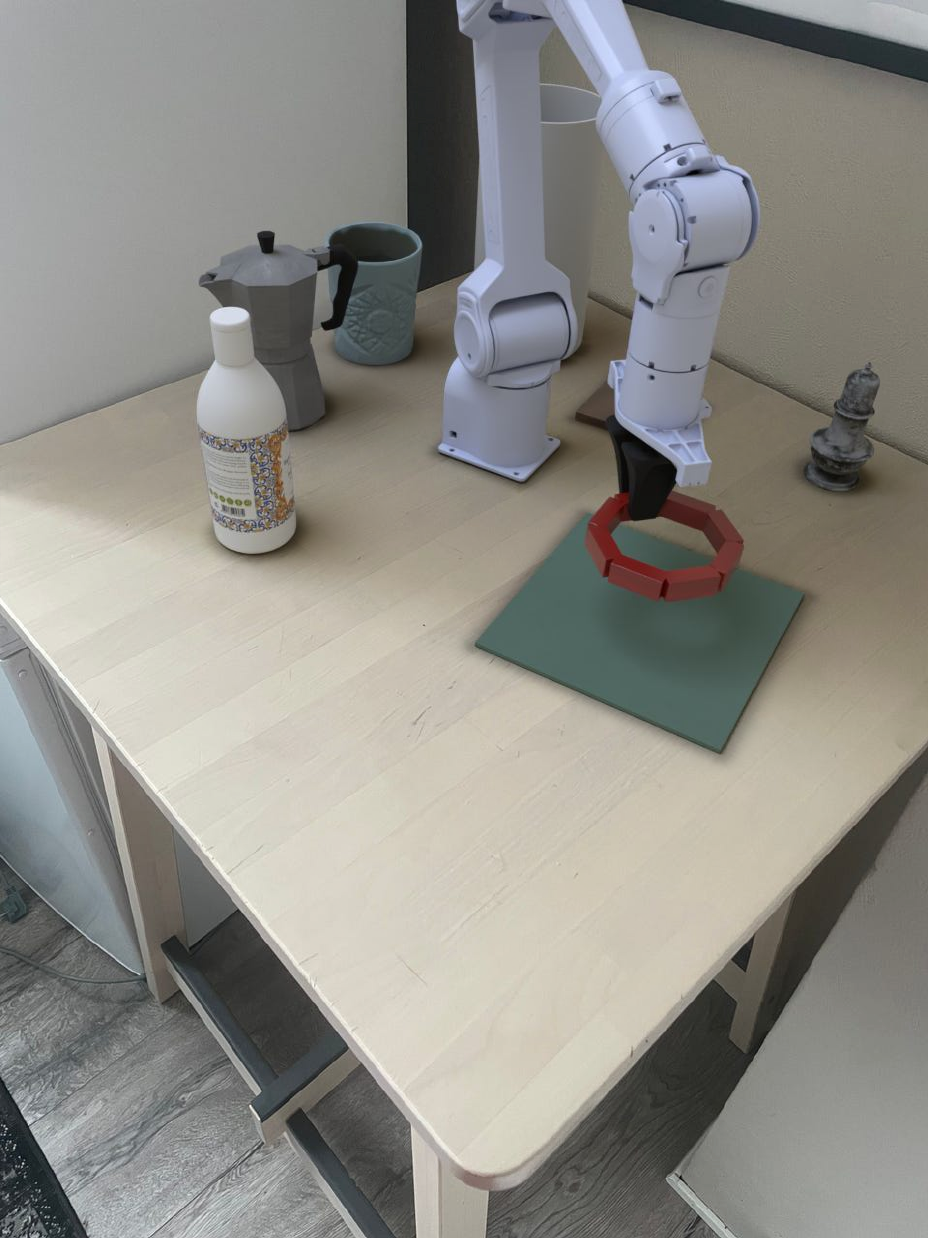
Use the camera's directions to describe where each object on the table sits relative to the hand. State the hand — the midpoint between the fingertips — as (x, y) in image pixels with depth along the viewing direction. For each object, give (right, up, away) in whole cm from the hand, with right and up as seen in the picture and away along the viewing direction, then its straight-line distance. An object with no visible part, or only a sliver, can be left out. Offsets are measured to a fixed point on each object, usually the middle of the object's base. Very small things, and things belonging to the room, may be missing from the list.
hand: (638, 510), depth 81 cm
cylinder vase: (-7, +23, +35) cm, 43 cm away
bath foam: (-32, -1, +8) cm, 33 cm away
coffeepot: (-31, +13, +23) cm, 41 cm away
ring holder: (+4, +13, +25) cm, 28 cm away
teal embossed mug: (-24, +21, +33) cm, 46 cm away
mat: (+1, -9, +1) cm, 9 cm away
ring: (+1, -4, -3) cm, 5 cm away
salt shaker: (+22, +5, +18) cm, 28 cm away
